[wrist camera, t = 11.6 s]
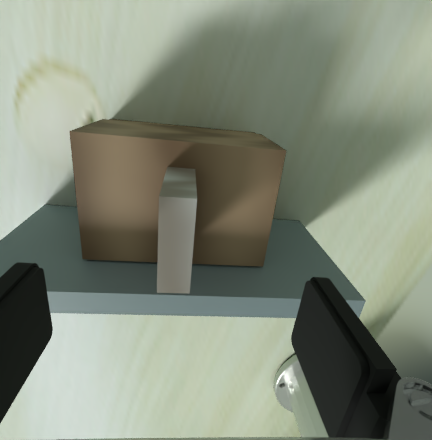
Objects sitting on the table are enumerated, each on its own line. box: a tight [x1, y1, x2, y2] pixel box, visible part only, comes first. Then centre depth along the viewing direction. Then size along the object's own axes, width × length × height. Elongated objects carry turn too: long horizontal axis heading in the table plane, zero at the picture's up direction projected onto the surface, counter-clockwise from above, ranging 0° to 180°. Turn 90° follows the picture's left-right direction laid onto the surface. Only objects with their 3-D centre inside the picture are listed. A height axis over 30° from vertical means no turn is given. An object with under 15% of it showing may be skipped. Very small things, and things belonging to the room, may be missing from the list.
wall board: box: [0, 205, 365, 318], centre depth 22 cm, size 24×2×12 cm, turn 84°
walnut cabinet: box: [70, 119, 286, 294], centre depth 20 cm, size 12×8×14 cm, turn 84°
